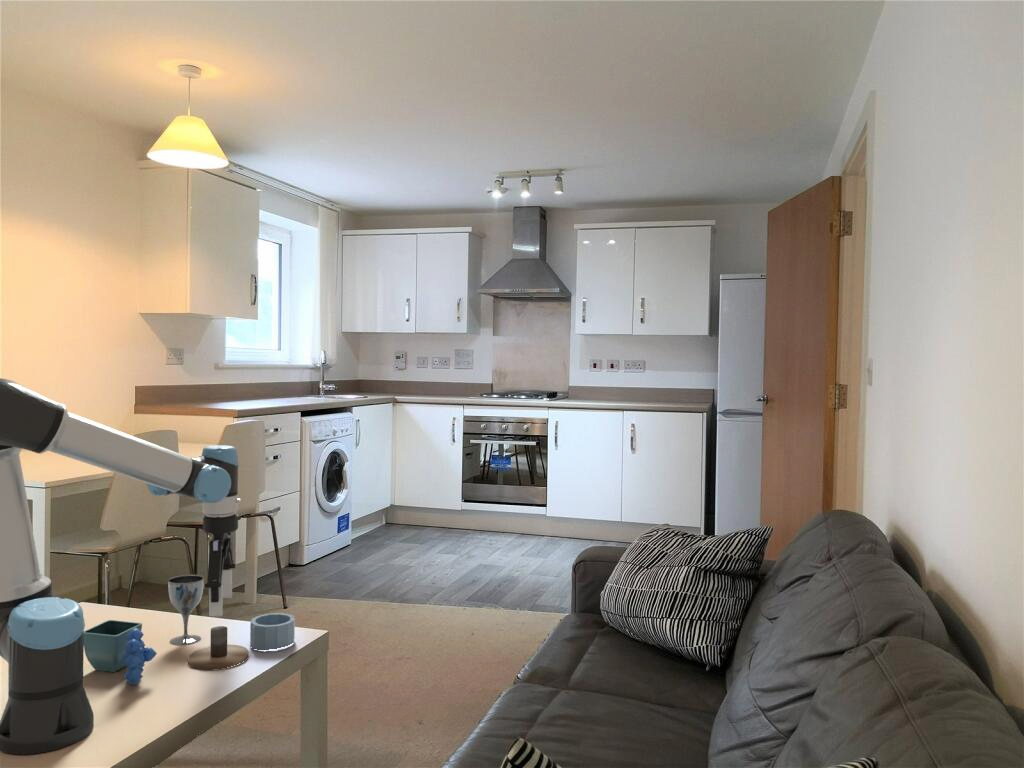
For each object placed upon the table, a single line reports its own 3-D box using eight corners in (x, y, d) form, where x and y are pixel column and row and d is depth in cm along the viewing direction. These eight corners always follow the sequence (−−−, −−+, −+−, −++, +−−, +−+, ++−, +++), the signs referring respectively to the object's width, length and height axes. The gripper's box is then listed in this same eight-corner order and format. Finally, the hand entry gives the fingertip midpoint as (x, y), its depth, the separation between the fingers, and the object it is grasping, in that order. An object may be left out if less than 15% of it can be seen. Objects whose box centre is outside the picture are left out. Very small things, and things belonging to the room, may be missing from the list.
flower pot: (116, 677, 169) (116, 635, 169) (80, 673, 171) (80, 632, 170) (143, 662, 177) (143, 622, 177) (108, 658, 179) (109, 619, 179)
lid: (244, 669, 175) (244, 637, 175) (182, 672, 173) (182, 640, 172) (252, 648, 188) (252, 618, 187) (195, 651, 185) (195, 620, 185)
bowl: (292, 650, 186) (292, 625, 186) (248, 652, 184) (248, 627, 184) (295, 636, 196) (296, 612, 196) (253, 638, 194) (253, 614, 194)
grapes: (155, 692, 162) (155, 633, 161) (118, 696, 159) (118, 637, 159) (157, 671, 172) (158, 616, 172) (123, 675, 170) (123, 619, 170)
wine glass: (197, 632, 198) (198, 572, 197) (207, 641, 191) (207, 580, 191) (164, 638, 193) (164, 577, 192) (172, 648, 186) (173, 585, 186)
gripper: (229, 524, 168) (229, 623, 169) (245, 503, 192) (245, 589, 193) (191, 525, 167) (192, 625, 167) (213, 504, 191) (213, 591, 192)
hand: (221, 606), depth 180 cm, fingers open, 13 cm apart
